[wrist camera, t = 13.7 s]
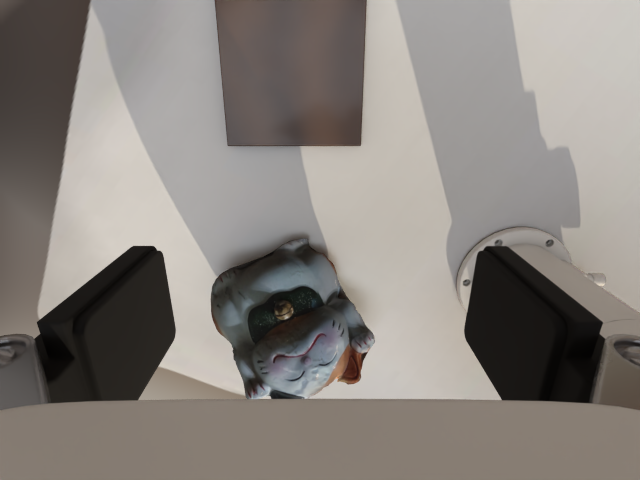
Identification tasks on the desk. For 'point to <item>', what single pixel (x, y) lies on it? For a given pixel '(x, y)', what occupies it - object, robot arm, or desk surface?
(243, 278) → the lucky cat figurine
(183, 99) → the desk surface
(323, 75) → the board
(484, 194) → the desk surface
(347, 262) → the desk surface
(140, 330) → the robot arm
